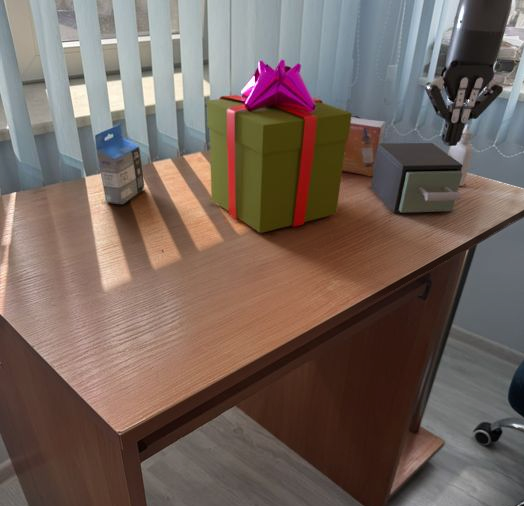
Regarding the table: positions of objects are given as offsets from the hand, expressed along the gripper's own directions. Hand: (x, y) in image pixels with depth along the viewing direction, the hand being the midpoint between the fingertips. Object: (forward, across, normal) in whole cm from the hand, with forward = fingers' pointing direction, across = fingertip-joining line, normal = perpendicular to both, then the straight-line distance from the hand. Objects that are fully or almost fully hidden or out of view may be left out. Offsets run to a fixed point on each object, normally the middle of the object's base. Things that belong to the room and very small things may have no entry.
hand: (449, 144), depth 89 cm
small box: (+14, -5, +28) cm, 32 cm away
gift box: (+14, -29, +7) cm, 33 cm away
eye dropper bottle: (+14, +14, +20) cm, 28 cm away
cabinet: (+14, 0, +11) cm, 18 cm away
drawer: (+13, 0, +6) cm, 14 cm away
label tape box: (+14, -56, +16) cm, 60 cm away
